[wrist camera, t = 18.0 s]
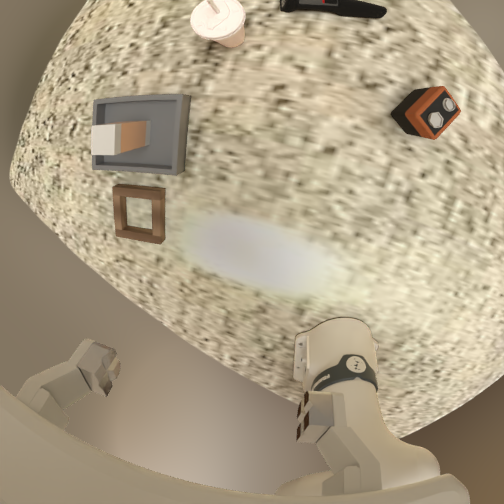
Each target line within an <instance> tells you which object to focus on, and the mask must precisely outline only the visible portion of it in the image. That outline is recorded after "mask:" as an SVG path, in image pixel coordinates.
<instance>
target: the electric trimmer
mask: <svg viewBox="0 0 504 504" xmlns="http://www.w3.org/2000/svg"><path fill="white" fill-rule="evenodd" d="M280 8H281V11H285V12H291V11H293V10H296V9H309V10H324V11H331V12H335V13H337V14H338V15H341V16H356V17H369V18H381V17H383V16H384V15H385V14H386V12H387V9H386V8H385V7H382V6H379V5H375V4H371V3H367V2H362V1H358V0H280Z"/></svg>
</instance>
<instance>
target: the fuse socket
mask: <svg viewBox="0 0 504 504" xmlns="http://www.w3.org/2000/svg"><path fill="white" fill-rule="evenodd" d="M126 197H134V198H142V199H151V200H152V230H151V229H145V228H139V227H132V226H127V213H126ZM113 206H114V220H115V231H116V236H117V237H122V238H128V239H133V240H139V241H144V242H150V243H155V244H162V242H163V241H164V240H165V188H157V187H147V186H137V185H126V184H117V185H115V186H113Z"/></svg>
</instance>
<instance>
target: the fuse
mask: <svg viewBox="0 0 504 504" xmlns="http://www.w3.org/2000/svg"><path fill="white" fill-rule="evenodd" d="M150 128H151V120H138V121H123V122H114V123H107V124H100V125H93V126H92V130H91V155H117V154H120V153H123V152H126V151H130V150H133V149H137V148H140V147H144V146H147V145H150Z"/></svg>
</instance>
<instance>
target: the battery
mask: <svg viewBox="0 0 504 504" xmlns="http://www.w3.org/2000/svg"><path fill="white" fill-rule="evenodd" d="M460 112H461V110H460V108H459V107H458V105H457V104H456V102H455V101H454V99H453V98H452V96H451V95H450V94H449V92H448V91H447V89H446V88H445V87H444V86H438V87H430V88H423V89H416V90H414V91H413V92H412V93H411V94H410V95H409V96H408V97H407V98H405V99H404V100H403V101H402V102H401V103H400V104H399V105H398V106H397V107H396V108H395V109H394V110H393V111H392V113H391V115H392V117H393V118H394V119H395V120H396V121H397V123H398V124H399V125H400V126H401V127H402V129H403V130H404V131H405V132H406V133H407V134H410V135H415V136H420V137H424V138H429V139H433V140H435V139H437V138H438V137H439V135H440V134H441V133H442V132H443V131H444V130H445V129H446V128H447V127H448V126H449V125H450V124H451V123H452V122H453V120H454V119H455V118H456V117H457V116H458V115H459V114H460Z"/></svg>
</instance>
